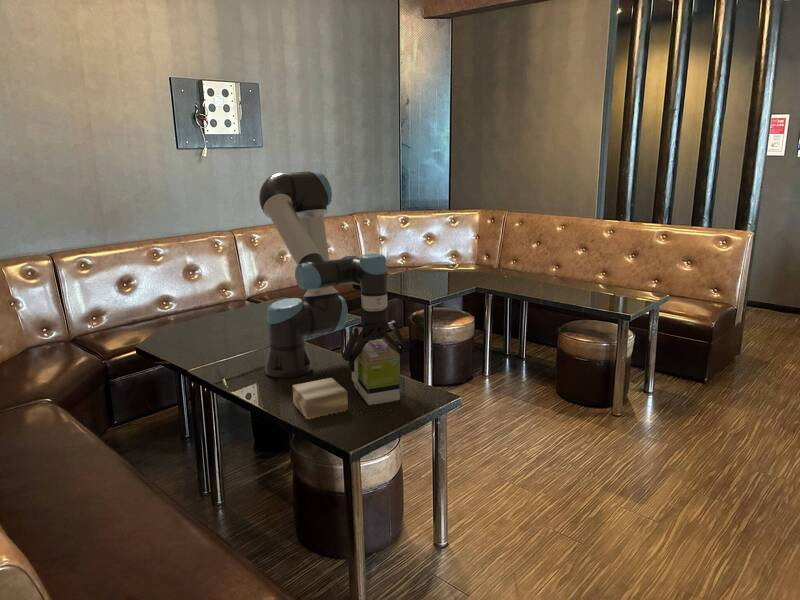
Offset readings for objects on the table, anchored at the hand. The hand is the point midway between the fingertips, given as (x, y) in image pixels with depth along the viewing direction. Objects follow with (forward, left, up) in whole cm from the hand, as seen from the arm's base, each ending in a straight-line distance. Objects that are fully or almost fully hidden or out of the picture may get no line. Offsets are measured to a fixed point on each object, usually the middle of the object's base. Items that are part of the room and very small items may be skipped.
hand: (376, 377), depth 178 cm
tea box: (0, 0, -6) cm, 6 cm away
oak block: (+1, -18, -6) cm, 19 cm away
